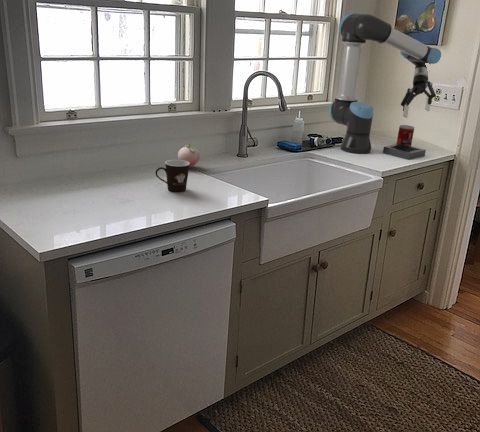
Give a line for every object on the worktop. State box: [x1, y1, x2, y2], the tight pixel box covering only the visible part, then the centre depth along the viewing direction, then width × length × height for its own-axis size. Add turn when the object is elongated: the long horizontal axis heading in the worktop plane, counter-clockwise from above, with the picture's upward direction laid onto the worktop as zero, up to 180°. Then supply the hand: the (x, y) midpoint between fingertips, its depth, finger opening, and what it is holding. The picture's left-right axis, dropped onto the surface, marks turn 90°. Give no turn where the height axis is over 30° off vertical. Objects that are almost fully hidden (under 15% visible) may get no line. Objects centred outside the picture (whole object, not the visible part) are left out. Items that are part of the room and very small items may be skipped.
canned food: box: [396, 124, 415, 146], centre depth 281 cm, size 8×8×11 cm
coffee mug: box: [155, 159, 190, 194], centre depth 187 cm, size 12×9×10 cm
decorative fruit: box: [177, 143, 201, 169], centre depth 215 cm, size 9×8×10 cm
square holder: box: [382, 143, 427, 161], centre depth 265 cm, size 15×15×3 cm
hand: (415, 113), depth 274 cm, fingers open, 13 cm apart
